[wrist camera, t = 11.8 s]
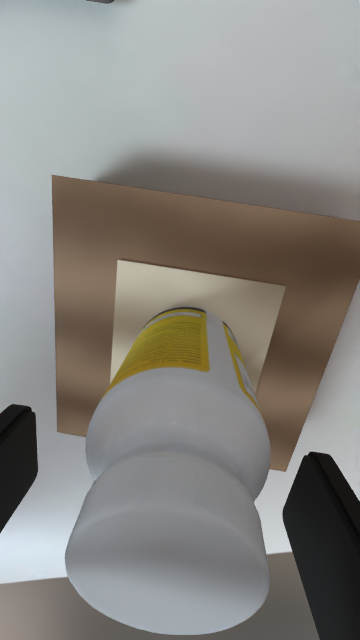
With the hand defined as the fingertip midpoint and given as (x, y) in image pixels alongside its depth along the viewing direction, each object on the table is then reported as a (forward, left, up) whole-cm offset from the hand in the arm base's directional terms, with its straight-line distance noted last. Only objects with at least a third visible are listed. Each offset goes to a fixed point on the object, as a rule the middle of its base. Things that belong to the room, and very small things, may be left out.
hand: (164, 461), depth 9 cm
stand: (0, 0, -13) cm, 13 cm away
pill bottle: (0, 0, -9) cm, 9 cm away
